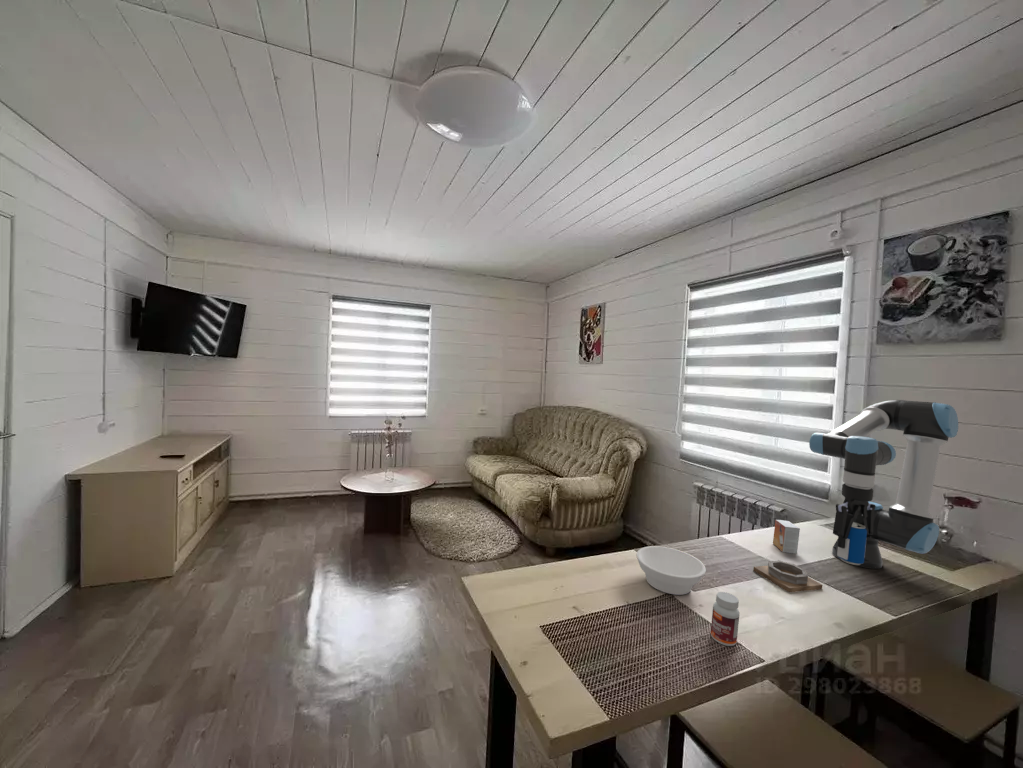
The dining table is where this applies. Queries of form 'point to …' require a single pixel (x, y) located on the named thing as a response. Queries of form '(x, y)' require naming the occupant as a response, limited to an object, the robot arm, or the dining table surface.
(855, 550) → the beverage can
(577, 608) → the dining table surface
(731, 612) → the pill bottle
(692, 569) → the bowl
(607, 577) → the dining table surface
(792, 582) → the socket
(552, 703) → the dining table surface
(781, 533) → the small box
